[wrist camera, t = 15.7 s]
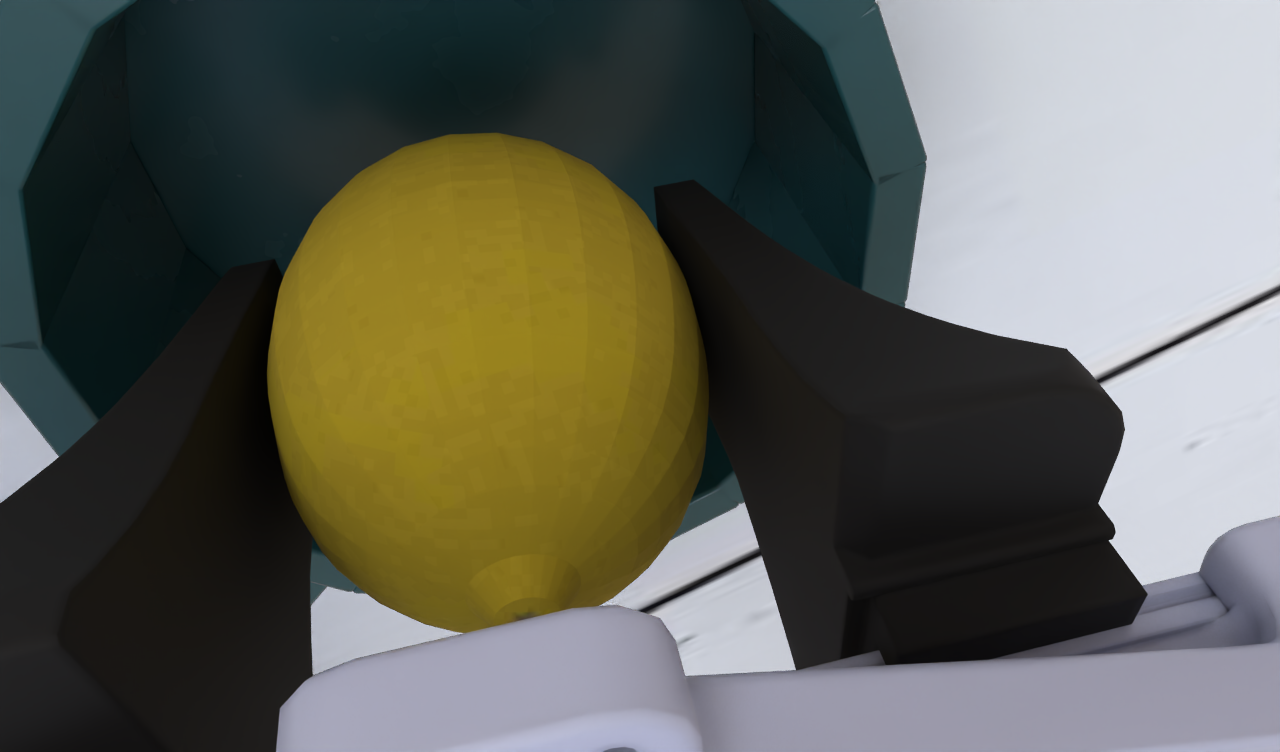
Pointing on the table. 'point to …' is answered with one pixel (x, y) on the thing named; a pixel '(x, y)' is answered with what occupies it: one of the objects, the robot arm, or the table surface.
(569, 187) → the lemon
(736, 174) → the pot
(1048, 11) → the table surface
